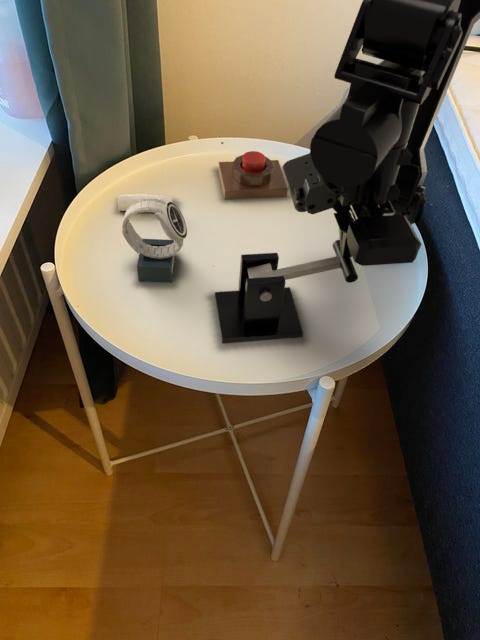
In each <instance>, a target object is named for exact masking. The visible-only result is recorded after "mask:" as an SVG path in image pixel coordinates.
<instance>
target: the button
mask: <svg viewBox="0 0 480 640" xmlns="http://www.w3.org/2000/svg"><path fill="white" fill-rule="evenodd" d="M242 155H243V158H242V168H243V169H244V170H245V171H248V172H251V173H258V172H261V171H263V170H264V168H265V159H266V158H265V157H266V155H265V154H264V153H263V152H260V151H255V150H251V151H247V152H244V154H242Z"/></svg>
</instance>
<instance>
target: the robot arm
mask: <svg viewBox="0 0 480 640" xmlns="http://www.w3.org/2000/svg"><path fill="white" fill-rule="evenodd" d="M354 19H355V20H354V21H353V25H352V27H351V30H350V34H349V35H348V38H347V41H346V43H345V45H344V49H343V50H342V53H341V56H340V60H339V62H338V65H337V67H336V70H335V72H334V79H335V80H338V81H342V82H345V83H349V84H350V85H349V90H348V94H347V97H346V98H345V100H344V101H343V103H342V104H341V105H340V106H339V107H338V108H337V109H336V110H335V111H334V112H333V113H332V114H331V115H330V116H329V117H328V118H327V119H326V120H325V121H324V122H323V123H322V124H321V126H320V127H319V128H317V130H316V131H315V132H314V135H313V137H312V138H311V140H310V145H309V152H308V153H307V154H304V155H303V154H302V155H300V156H298V157H294V158H292V159H288V160H287V161H286V162H284V164H283V165H282V173H283V175H284V178H285V181H286V184H287V187H288V193H289V195H290V198H291V201H292V204H293V207H294V209H295V211H296V212H299V213H306V212H307V214H310V215H315V214H319V213H321V212H324V211H328V210H331V209H332V210H334V212H333V216H334V219H335V221H336V224H337V226H338V233H339V240H340V249H341V255H342V257H343V258H351V259H353V262H354V263H355V264H357V265H359V266H362V267H365V266H366V267H367V266H379V265H380V266H382V265H396V264H399V265H400V264H412V263H414V261H415V260H416V259H417V256H418V255H419V251H420V249H421V246H422V242H421V241H420V238H419V237H418V235H417V233H416V231H415V229H414V227H413V226H412V225H414V224H417V223H420V221H421V220H422V217H423V214H424V211H425V208H426V202H427V199H426V197H427V196H426V195H427V193H426V192H427V190H426V189H427V188H426V187H424V186H423V185H424V182H425V179H426V177H427V175H428V167H427V161H426V154H425V147H426V145H427V142H428V139H429V137H430V134H431V132H432V129H433V127H434V125H435V122H436V120H437V117H438V115H439V112H440V110H441V108H442V104H443V102H444V100H445V97H446V95H447V92H448V90H449V87H450V85H451V82H452V80H453V78H454V75H455V72H456V70H457V68H458V65H459V62H460V60H461V58H462V54H463V53H464V50H465V48H466V45H467V42H468V40H469V38H470V35H471V33H472V30H473V28H474V25H475V24H476V23H477V22H478V21H479V20H480V0H362V2H361V4H360V6H359V9H358V12H357V15H356V17H355V18H354ZM360 51H361V53H362V55H365V56H367V57H368V56H369V57H372V58H375V59H379V60H381V61H379V62H378V63H374V62H372V61H368V60H365V59H362V58H357V57H358V55H359V53H360Z"/></svg>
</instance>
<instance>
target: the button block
mask: <svg viewBox="0 0 480 640" xmlns="http://www.w3.org/2000/svg"><path fill="white" fill-rule="evenodd" d="M243 155H244V154H241V155H239V156H236V157H235V159H234V160H233V161H218V174H219V180H220V184H221V190H222V194H223V199H224V200H246V199H267V198H270V199H271V198H287V197H288V192H289V189H288V185H287V182H286V179H285V175H284V172H283V169H282V167H281V164H280V160H278V159H270V158H268V157H267V156H265V158H266V159H265V168H264V170H263V171H261V172H258V173H251V172H248V171H245V170H244V169H243V168H242V158H243Z"/></svg>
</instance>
